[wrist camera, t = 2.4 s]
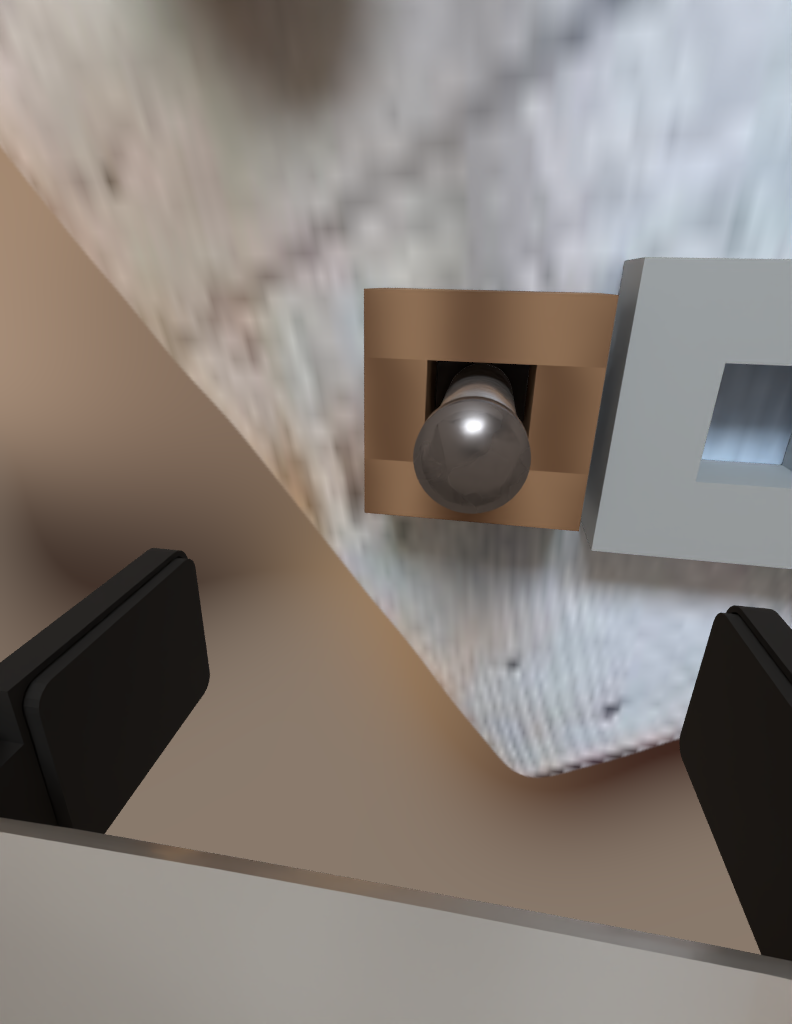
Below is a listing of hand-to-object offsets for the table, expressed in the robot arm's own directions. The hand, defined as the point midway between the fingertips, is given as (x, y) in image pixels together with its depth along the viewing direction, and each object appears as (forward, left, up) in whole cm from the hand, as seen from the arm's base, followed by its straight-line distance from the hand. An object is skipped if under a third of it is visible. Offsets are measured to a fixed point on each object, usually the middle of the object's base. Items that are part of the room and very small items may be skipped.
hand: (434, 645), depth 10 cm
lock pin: (0, 0, -23) cm, 23 cm away
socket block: (-14, 0, -23) cm, 27 cm away
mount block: (0, 0, -23) cm, 23 cm away
